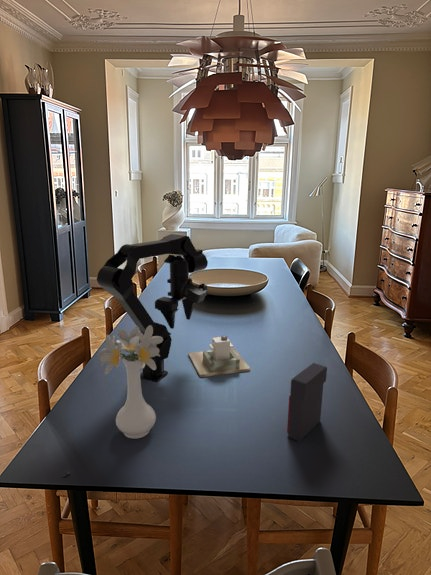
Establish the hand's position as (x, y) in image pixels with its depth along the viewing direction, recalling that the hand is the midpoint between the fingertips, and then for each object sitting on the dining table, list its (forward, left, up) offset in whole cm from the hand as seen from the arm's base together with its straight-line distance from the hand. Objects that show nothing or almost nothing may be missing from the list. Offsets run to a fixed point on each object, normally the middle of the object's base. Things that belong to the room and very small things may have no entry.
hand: (180, 323), depth 131 cm
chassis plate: (+5, -11, -13) cm, 18 cm away
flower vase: (-36, -11, -13) cm, 40 cm away
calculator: (-16, -46, -13) cm, 50 cm away
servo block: (+3, -13, -12) cm, 18 cm away
